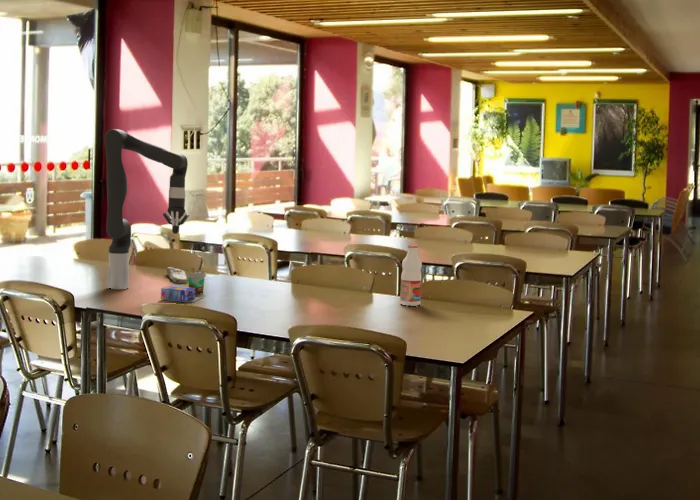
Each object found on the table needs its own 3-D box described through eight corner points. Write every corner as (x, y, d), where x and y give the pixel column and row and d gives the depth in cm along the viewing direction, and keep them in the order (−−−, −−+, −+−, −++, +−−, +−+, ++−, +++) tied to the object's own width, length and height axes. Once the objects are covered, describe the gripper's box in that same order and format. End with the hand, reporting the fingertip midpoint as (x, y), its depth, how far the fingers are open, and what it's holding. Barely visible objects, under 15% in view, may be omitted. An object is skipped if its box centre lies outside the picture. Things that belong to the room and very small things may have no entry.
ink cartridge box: (172, 284, 413) (200, 288, 409) (171, 296, 414) (199, 300, 409) (160, 287, 404) (189, 291, 399) (160, 299, 404) (189, 303, 400)
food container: (200, 295, 421) (200, 274, 420) (187, 294, 422) (188, 273, 421) (209, 291, 433) (209, 270, 432) (197, 290, 434) (197, 269, 433)
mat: (165, 300, 404) (165, 300, 404) (176, 296, 417) (176, 295, 417) (193, 302, 402) (193, 301, 402) (203, 297, 414) (203, 297, 414)
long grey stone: (170, 287, 450) (190, 287, 453) (171, 276, 450) (191, 277, 453) (164, 272, 483) (182, 273, 486) (164, 263, 483) (183, 264, 486)
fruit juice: (402, 302, 423) (405, 243, 420) (422, 304, 420) (425, 244, 417) (397, 305, 414) (400, 245, 411) (417, 307, 411) (420, 246, 408)
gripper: (160, 196, 419) (159, 233, 421) (187, 198, 417) (185, 235, 419) (166, 195, 427) (165, 231, 429) (193, 197, 424) (191, 234, 426)
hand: (175, 233), depth 424 cm, fingers closed
